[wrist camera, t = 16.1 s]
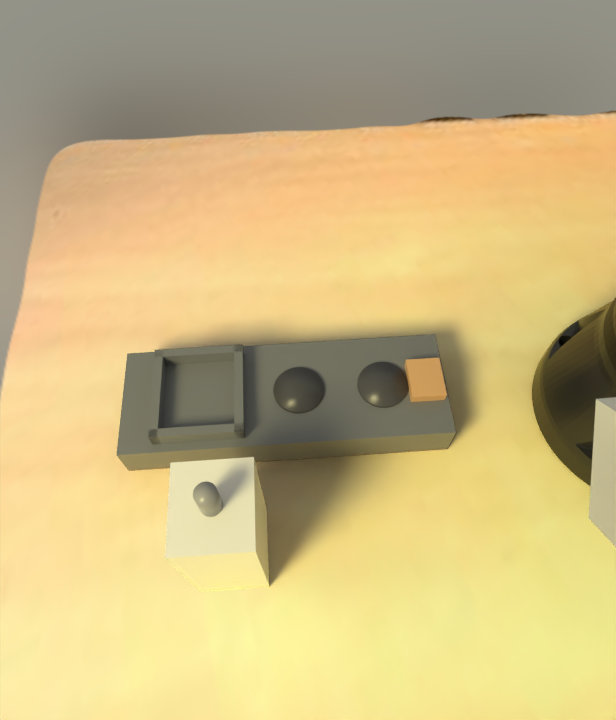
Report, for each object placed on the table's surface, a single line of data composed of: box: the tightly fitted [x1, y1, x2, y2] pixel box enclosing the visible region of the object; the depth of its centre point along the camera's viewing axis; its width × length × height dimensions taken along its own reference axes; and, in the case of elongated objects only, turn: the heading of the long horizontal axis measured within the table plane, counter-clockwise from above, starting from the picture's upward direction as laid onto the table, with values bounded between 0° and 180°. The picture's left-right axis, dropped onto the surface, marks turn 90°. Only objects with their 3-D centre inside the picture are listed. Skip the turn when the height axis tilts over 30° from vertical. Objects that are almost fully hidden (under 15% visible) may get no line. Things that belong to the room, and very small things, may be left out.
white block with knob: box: [165, 457, 269, 592], centre depth 34 cm, size 4×5×12 cm
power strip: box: [117, 334, 456, 471], centre depth 42 cm, size 23×8×4 cm, turn 94°
